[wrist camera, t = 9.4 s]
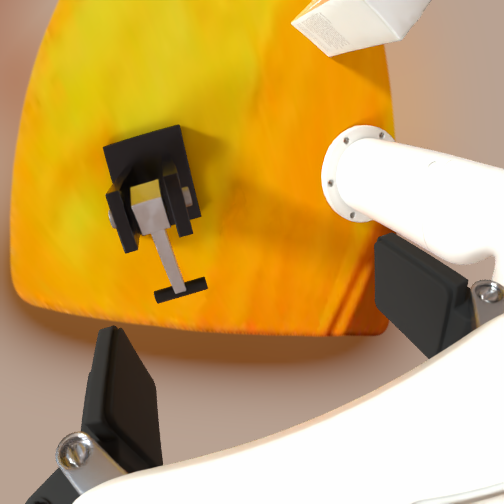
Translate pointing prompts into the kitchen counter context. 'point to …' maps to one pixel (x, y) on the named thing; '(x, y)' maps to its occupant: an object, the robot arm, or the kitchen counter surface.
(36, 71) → the kitchen counter surface
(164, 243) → the lever
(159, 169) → the bracket
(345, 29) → the small box
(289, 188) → the kitchen counter surface
